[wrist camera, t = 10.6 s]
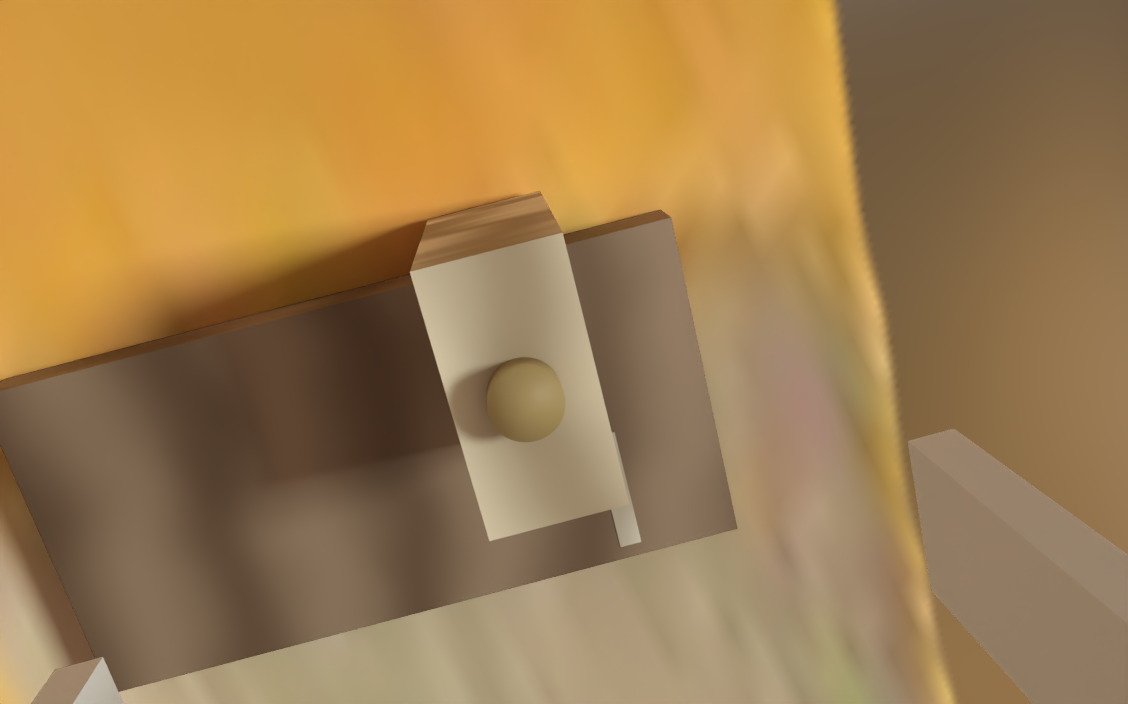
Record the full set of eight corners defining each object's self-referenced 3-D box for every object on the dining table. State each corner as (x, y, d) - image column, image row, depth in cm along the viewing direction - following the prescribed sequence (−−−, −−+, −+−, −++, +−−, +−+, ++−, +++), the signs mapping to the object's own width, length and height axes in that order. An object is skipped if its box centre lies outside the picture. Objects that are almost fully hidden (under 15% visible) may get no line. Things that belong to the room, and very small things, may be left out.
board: (129, 662, 38) (111, 694, 36) (6, 378, 34) (-22, 396, 33) (724, 505, 38) (737, 528, 36) (660, 209, 35) (671, 217, 33)
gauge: (486, 424, 36) (489, 558, 26) (427, 219, 34) (406, 279, 24) (591, 396, 36) (635, 520, 26) (539, 190, 34) (566, 238, 24)
